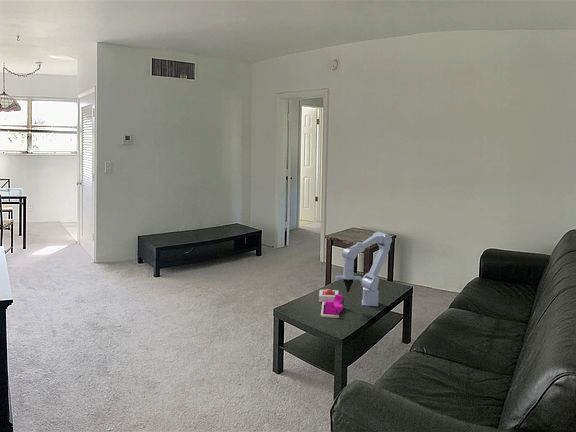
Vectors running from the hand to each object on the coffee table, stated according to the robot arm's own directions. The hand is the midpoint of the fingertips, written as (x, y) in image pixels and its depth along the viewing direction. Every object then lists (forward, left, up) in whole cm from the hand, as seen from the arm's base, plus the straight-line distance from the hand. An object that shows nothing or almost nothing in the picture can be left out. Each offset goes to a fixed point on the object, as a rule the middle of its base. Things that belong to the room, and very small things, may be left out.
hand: (347, 291), depth 273 cm
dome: (+11, -13, -9) cm, 19 cm away
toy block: (+7, +5, -10) cm, 13 cm away
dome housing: (+11, -13, -10) cm, 20 cm away
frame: (+9, +6, -10) cm, 15 cm away
